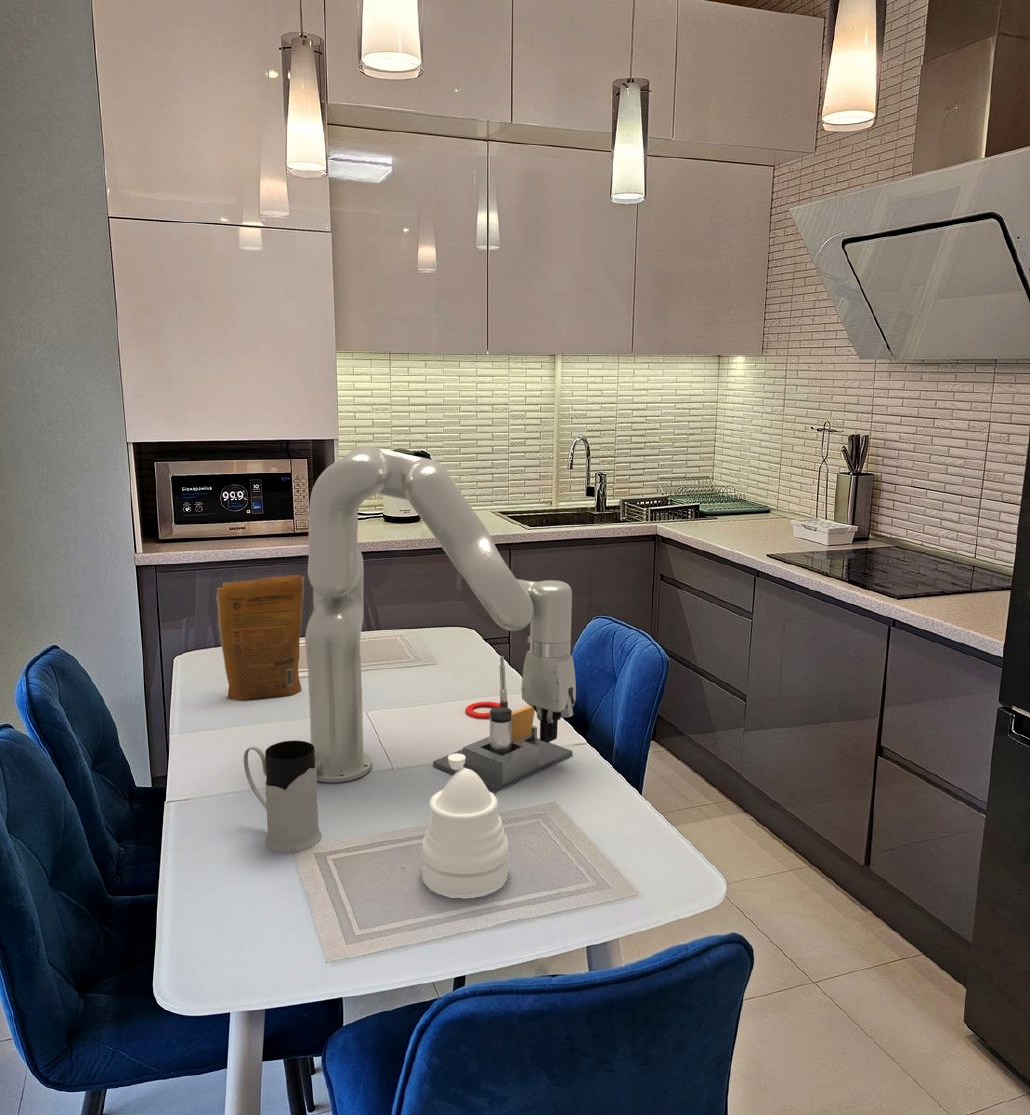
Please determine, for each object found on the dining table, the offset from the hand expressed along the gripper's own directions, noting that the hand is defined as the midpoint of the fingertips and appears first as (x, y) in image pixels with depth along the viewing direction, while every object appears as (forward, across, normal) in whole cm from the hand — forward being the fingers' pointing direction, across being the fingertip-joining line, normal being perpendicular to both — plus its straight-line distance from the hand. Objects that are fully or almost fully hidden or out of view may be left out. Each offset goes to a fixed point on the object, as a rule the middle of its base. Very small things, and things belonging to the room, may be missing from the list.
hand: (548, 739), depth 172 cm
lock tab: (+3, -8, 0) cm, 9 cm away
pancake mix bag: (+5, -69, -18) cm, 72 cm away
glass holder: (+5, -13, -50) cm, 52 cm away
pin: (+4, -4, -10) cm, 11 cm away
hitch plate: (+5, -6, -6) cm, 10 cm away
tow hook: (+5, -26, +10) cm, 29 cm away
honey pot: (+5, +17, -38) cm, 42 cm away
